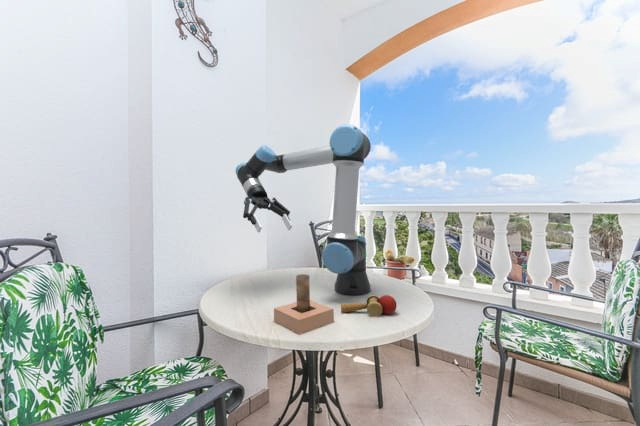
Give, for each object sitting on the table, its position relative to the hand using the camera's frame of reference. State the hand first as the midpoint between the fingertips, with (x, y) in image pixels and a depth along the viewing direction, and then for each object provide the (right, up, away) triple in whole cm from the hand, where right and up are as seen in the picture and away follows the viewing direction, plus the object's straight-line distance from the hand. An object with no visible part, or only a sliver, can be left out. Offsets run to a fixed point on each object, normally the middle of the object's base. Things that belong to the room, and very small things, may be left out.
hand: (275, 229), depth 110 cm
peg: (+12, -27, -21) cm, 36 cm away
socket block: (+12, -27, -21) cm, 36 cm away
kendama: (+33, -27, -15) cm, 45 cm away
